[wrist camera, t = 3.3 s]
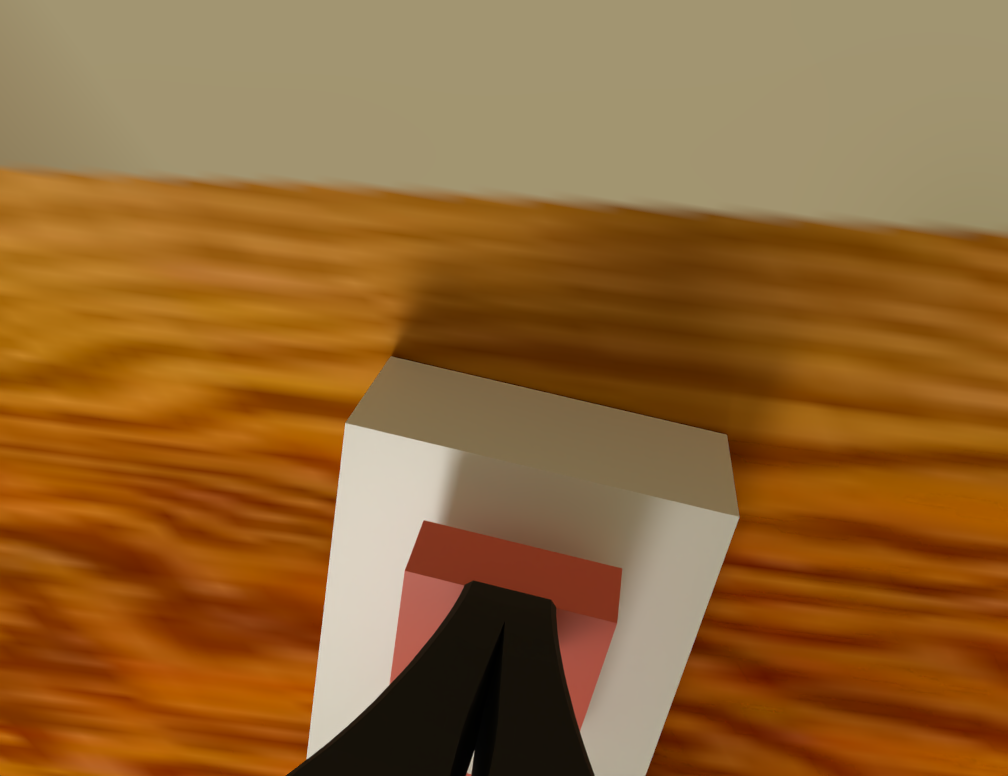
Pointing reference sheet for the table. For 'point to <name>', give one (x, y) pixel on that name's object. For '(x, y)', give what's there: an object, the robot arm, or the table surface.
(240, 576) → the table surface
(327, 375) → the table surface
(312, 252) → the table surface
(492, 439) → the rocker switch panel
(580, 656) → the red rocker
